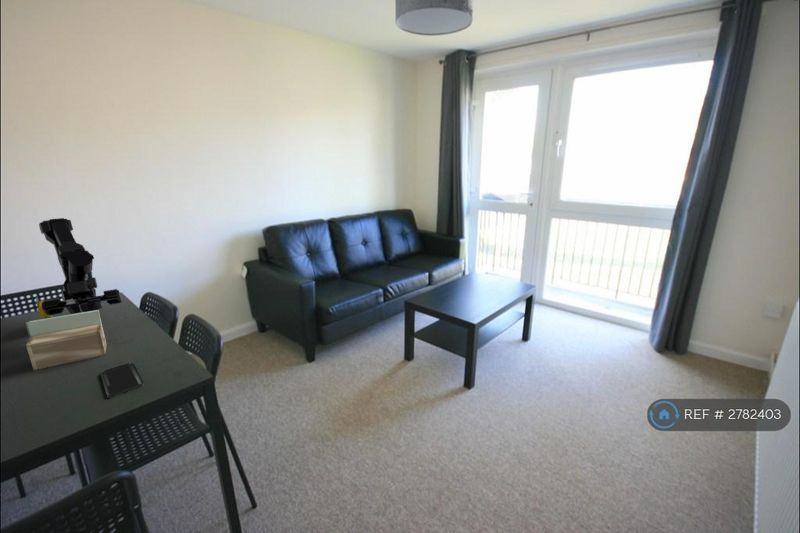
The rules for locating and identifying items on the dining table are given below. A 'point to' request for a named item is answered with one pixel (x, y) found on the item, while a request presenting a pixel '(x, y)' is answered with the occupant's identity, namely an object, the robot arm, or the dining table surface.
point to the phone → (121, 380)
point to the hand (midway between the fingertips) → (86, 325)
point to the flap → (63, 323)
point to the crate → (66, 346)
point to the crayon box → (41, 311)
